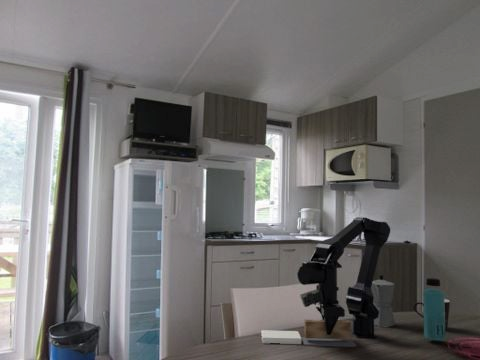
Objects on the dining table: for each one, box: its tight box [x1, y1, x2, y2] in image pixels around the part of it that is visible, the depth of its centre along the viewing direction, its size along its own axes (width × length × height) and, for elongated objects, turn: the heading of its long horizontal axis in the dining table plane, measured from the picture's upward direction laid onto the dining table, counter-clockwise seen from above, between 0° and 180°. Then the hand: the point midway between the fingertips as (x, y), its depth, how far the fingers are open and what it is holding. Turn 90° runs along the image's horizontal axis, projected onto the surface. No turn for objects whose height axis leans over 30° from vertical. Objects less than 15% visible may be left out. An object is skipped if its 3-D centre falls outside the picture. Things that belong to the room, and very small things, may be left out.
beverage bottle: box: [422, 277, 447, 341], centre depth 129 cm, size 6×7×20 cm
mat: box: [301, 336, 357, 348], centre depth 125 cm, size 16×7×1 cm, turn 90°
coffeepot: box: [371, 274, 396, 327], centre depth 150 cm, size 15×9×18 cm, turn 151°
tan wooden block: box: [303, 319, 352, 340], centre depth 125 cm, size 14×3×5 cm, turn 90°
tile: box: [260, 329, 302, 345], centre depth 127 cm, size 12×2×8 cm
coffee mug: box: [413, 298, 451, 331], centre depth 146 cm, size 12×9×10 cm
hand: (327, 333), depth 125 cm, fingers open, 3 cm apart
